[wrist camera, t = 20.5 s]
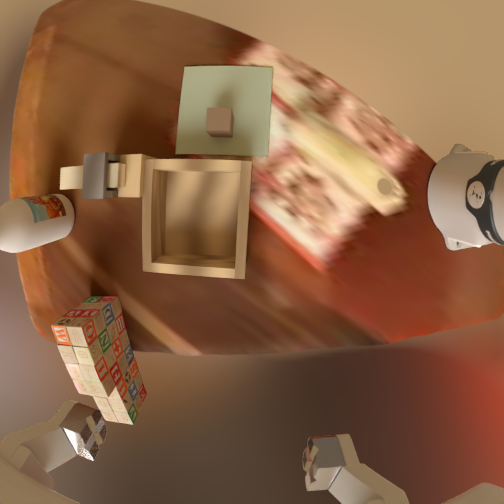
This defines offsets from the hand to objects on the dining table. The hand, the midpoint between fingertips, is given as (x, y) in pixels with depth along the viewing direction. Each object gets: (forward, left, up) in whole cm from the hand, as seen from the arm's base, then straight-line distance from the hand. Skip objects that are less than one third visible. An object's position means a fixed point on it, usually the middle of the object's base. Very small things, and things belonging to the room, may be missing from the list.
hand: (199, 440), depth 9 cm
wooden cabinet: (+10, -5, -33) cm, 35 cm away
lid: (+4, -20, -33) cm, 39 cm away
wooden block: (+19, -10, -25) cm, 32 cm away
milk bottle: (+32, -4, -33) cm, 46 cm away
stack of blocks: (+21, +20, -33) cm, 44 cm away
